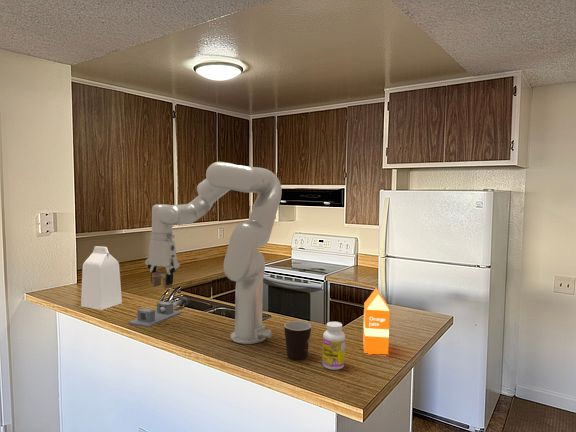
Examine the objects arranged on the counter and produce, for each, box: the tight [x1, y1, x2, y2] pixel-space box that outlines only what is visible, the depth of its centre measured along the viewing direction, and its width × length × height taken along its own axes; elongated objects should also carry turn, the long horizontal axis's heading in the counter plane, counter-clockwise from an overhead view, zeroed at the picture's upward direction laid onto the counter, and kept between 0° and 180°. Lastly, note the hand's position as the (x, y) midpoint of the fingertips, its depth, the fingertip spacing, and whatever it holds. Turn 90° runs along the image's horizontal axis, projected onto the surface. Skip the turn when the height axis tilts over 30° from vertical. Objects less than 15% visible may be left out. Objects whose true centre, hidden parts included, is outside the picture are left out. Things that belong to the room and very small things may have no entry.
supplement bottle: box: [321, 321, 346, 371], centre depth 123 cm, size 7×7×13 cm
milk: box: [80, 245, 123, 311], centre depth 181 cm, size 12×12×26 cm
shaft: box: [160, 296, 190, 312], centre depth 175 cm, size 4×15×3 cm, turn 157°
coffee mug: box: [283, 320, 312, 362], centre depth 130 cm, size 12×9×10 cm
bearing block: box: [127, 301, 183, 328], centre depth 165 cm, size 10×20×5 cm, turn 157°
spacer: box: [151, 270, 173, 290], centre depth 157 cm, size 6×4×5 cm, turn 68°
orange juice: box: [362, 287, 390, 355], centre depth 136 cm, size 8×9×20 cm
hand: (162, 282), depth 157 cm, fingers closed on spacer, 6 cm apart
